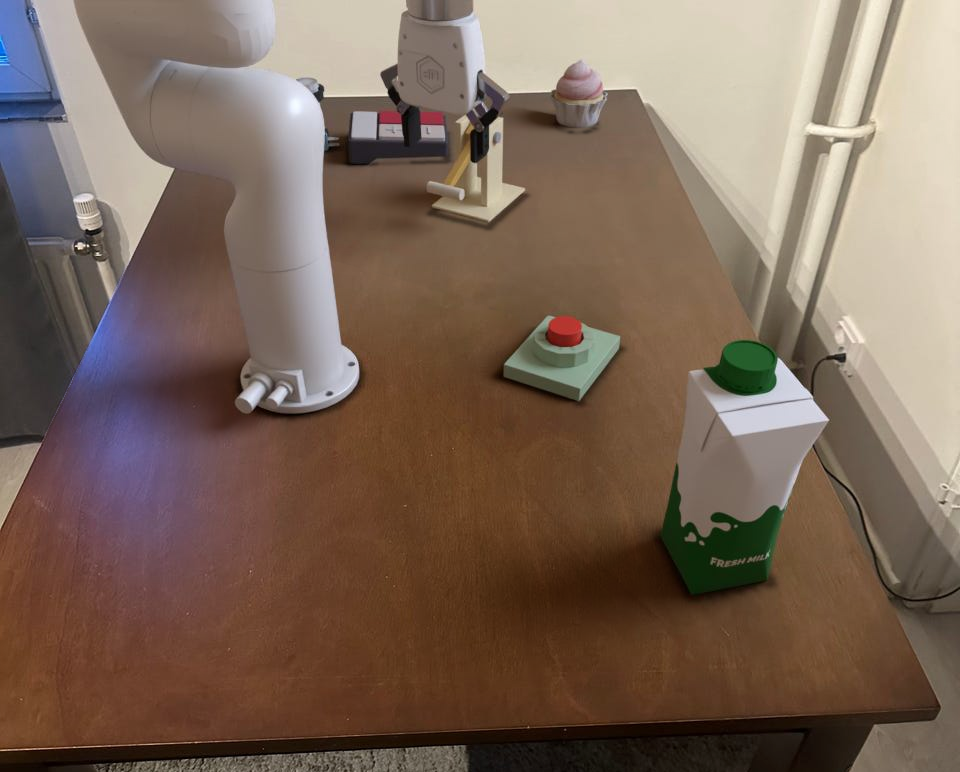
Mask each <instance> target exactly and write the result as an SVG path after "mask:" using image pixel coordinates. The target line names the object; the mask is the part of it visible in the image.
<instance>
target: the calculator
mask: <svg viewBox="0 0 960 772" xmlns="http://www.w3.org/2000/svg"><path fill="white" fill-rule="evenodd" d="M420 118H421V140H419V141H418V142H417V143H415V144H414V145H412V146H411V147H405V146H404V136H403V134H402V121H401V115H400V114H399V113H398V112H397V110H380V111H379V112H377V111H360V110H359V111H358V110H357V111H356V110H355V111H353V112H351V113H350V115H349V127H348V136H347V144H348V148H347V149H348V161H349V163H350V164H354V165H355V164H360V165H369V164H371V163H373V162H374V161H376V160H377V159H405V158H406V159H407V158H408V159H409V158H436V157H437V158H440V157H441V158H442V157H448V156H449V135H448V125H447V116H446V115H445V114H443V112H439V111H420Z"/></svg>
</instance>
